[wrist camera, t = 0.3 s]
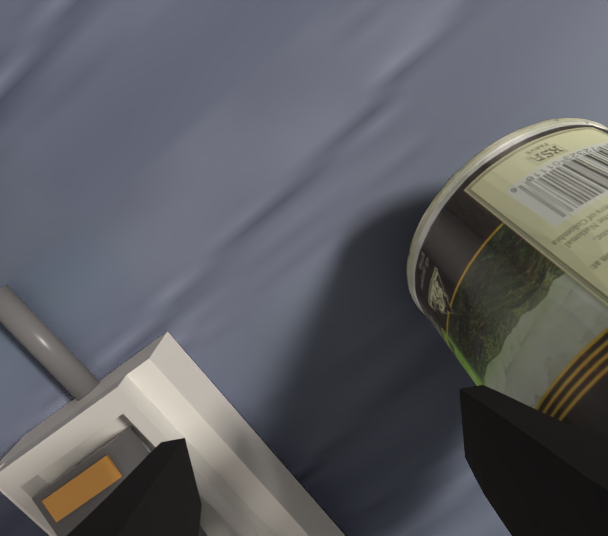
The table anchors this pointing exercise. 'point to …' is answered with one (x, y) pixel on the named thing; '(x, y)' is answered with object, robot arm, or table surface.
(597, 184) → the coffee can
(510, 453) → the robot arm
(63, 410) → the rocker switch box
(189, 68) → the table surface
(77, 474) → the rocker
